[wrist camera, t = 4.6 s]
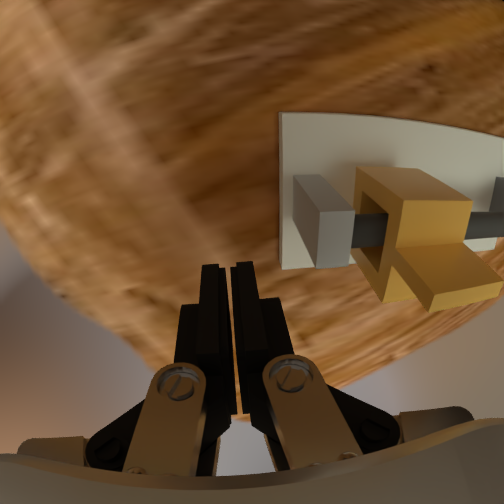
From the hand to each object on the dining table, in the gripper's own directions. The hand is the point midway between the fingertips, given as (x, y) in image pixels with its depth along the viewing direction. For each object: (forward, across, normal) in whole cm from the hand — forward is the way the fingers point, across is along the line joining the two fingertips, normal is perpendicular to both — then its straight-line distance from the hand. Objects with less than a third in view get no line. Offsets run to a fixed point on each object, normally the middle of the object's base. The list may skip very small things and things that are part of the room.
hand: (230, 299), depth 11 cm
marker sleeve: (+6, -9, 0) cm, 11 cm away
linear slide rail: (+10, -13, 0) cm, 17 cm away
